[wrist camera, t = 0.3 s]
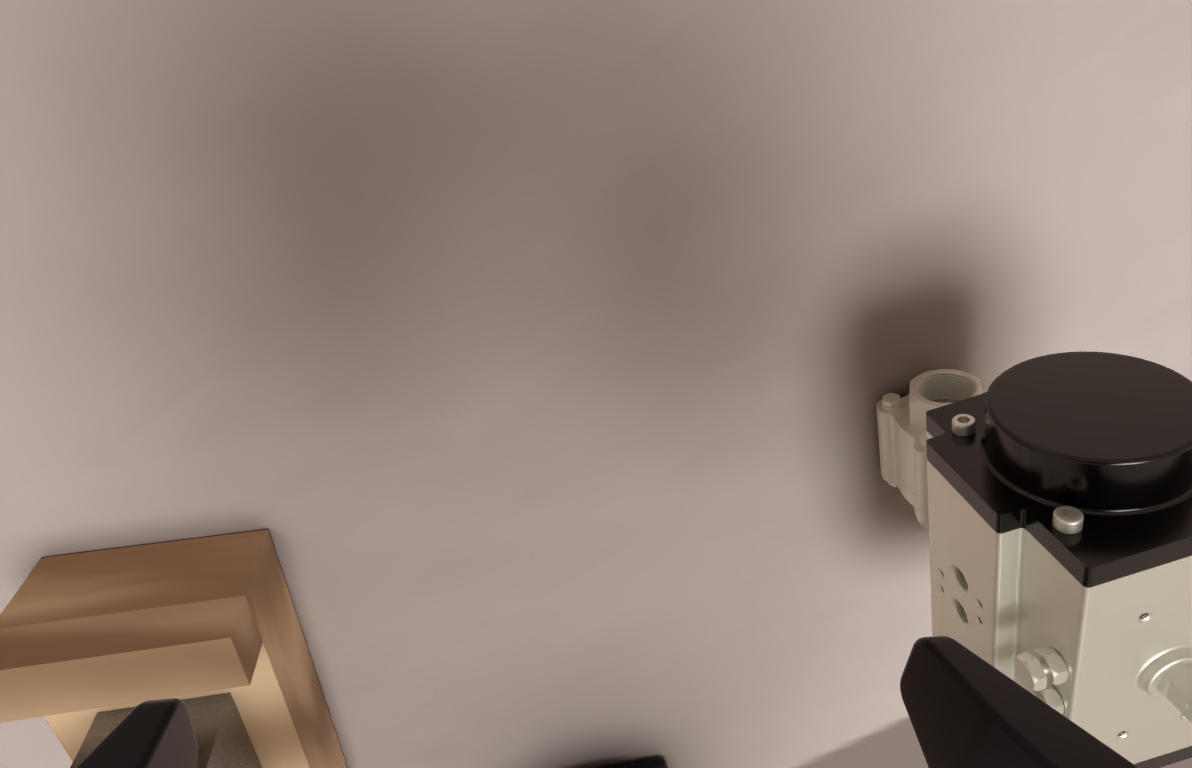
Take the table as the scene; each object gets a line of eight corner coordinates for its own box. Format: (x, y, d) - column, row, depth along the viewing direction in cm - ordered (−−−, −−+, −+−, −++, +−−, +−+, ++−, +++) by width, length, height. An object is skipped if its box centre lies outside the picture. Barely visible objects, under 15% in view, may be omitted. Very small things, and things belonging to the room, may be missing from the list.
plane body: (352, 781, 31) (336, 899, 27) (179, 810, 31) (137, 936, 27) (268, 529, 24) (230, 637, 20) (41, 557, 24) (-45, 676, 20)
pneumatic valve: (982, 256, 24) (1385, 479, 13) (978, 521, 30) (1255, 816, 19) (818, 307, 24) (1096, 571, 13) (847, 562, 30) (1054, 880, 19)
